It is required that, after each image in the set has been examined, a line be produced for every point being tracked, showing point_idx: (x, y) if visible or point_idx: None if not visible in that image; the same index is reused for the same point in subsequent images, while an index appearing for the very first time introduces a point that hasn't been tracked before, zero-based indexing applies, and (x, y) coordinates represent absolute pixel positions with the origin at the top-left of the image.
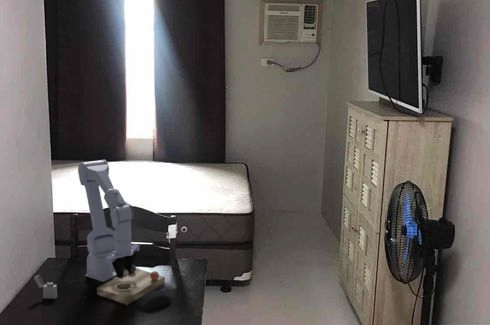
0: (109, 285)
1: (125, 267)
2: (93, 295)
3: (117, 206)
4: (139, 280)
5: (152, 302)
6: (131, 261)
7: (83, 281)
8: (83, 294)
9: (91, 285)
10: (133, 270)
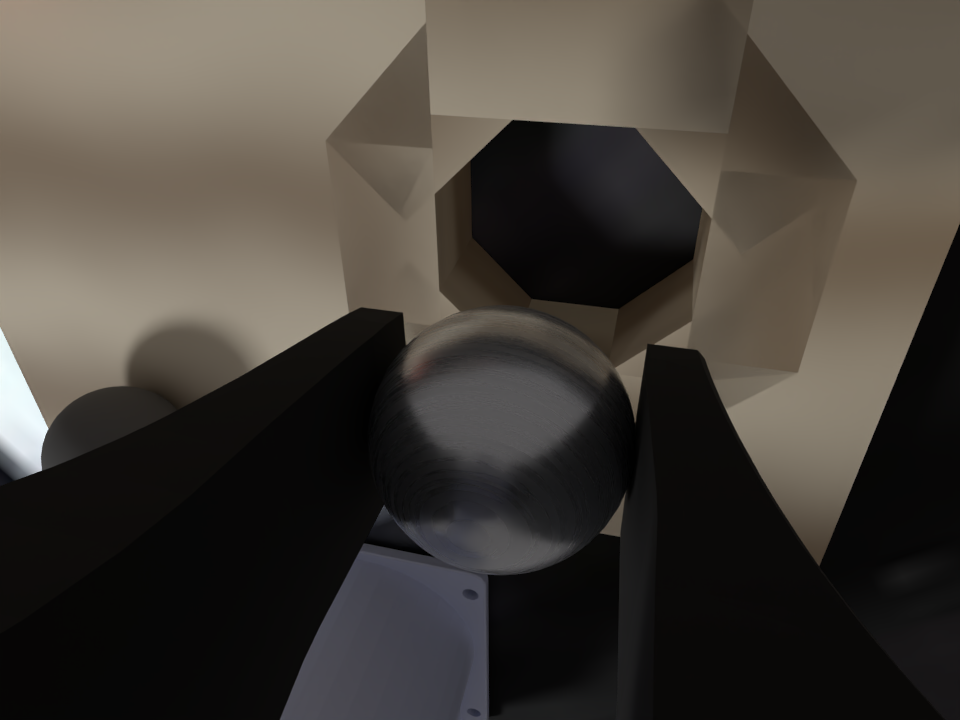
0: None
1: (342, 529)
2: (850, 514)
3: None
4: (222, 156)
5: None
6: (92, 571)
7: (582, 702)
8: (868, 610)
9: (616, 624)
10: (127, 405)
